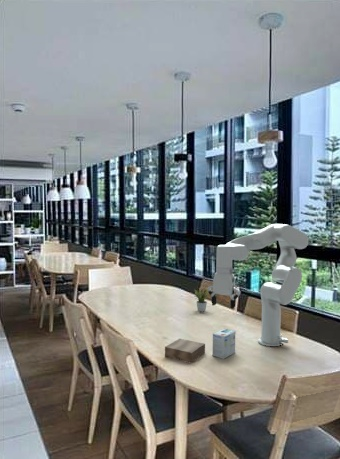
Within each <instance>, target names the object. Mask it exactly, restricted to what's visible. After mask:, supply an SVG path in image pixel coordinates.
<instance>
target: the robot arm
mask: <svg viewBox="0 0 340 459" xmlns="http://www.w3.org/2000/svg"><path fill="white" fill-rule="evenodd" d="M277 241H278V245H279V248H280V255H279V257H278V259H277V262H276V263H275V266H274V268H273V270H272V272H271V278H272V279H273V281H268V282H264V283H263V284H262V285H261V287H260V289H259V290H260V298H261V330H260V331H261V332H260V333H261V334H260V335H261V336H260V337H259V338H258V339H257V342H258V344H260V345H262V346H265V345H266V346H265V347H270V346H278V347H280V346H279V345H281V346H283V345H284V344H289V338H287V337H283V336H282V335H283V334H282V333H281V323H282V322H281V320H282V316H281V315H282V310H281V309H282V308H281V305H282V306H283V305H284V306H285V305H289V304H290V303H291V302H292V301H293V299H294V297H295V295H296V294H297V291H298V289H299V287H300V285H301V283H302V280H303V274H302V273H303V272H302V270H301V269H299V267H297V266H295V264H296V263H297V254H296V251H295V250H296V249H297V250H303V249H306V248H307V246H308V245H309V237H308V235H307V234H306V233H305V232H303V231H301V230H299V229H297V228H295V227H294V226H292V225H289V224H285V223H284V224H283V223H272V224H270V225H267V226H266V227H264V228H261V229H260V230H257V231H256V232H254V233H253V232H252V233H249V234H246V235H243V236H239V237H237V238H235V239H232V240H231V241H229V242H227V243H226V244H219V245H217V247H216V263H215V264H216V265H215V266H216V267H215V273H214V275H213V281H212V284H211V285H209V286H207V287H206V289H207V291H208V294H209V295H210V298H211V305H212V306H215V305H217V296H216V295H221V296H222V295H223V296H228V297H230V299H231V300H230V309H234V308H235V307H236V300H237V299H238V298H239V297H240V295H241V293H242V291H241V290H240V289H238V288H237V287H236V280H235V275H234V273H235V269H234V268H233V260H235V261H244V260H246V259H247V258H248V257H249V254H250V250H251V251H252V250H261V249H264V248H265V247H267V246H269V245H271V244H273V243H275V242H277ZM274 281H275V282H274ZM282 344H283V345H282Z"/></svg>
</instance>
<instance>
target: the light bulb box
mask: <svg viewBox="0 0 340 459" xmlns="http://www.w3.org/2000/svg"><path fill="white" fill-rule="evenodd" d="M235 353H236V330H232V329H228V328H223V329H221V330H218V331H216V332H214V333H212V356H213V357H217V358H220V359H226V358H228V357H229V356H231V355H234V354H235Z"/></svg>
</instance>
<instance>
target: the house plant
mask: <svg viewBox="0 0 340 459" xmlns="http://www.w3.org/2000/svg"><path fill="white" fill-rule="evenodd" d="M198 289H199V291H200V293H199V291H198V290H196V289H195V288H194V289H193V290H194V294H195V295H194V297H195V298H196V299H197V301H196V308H197V312H199V311H205V312H206V310H207V305H208V301H206V300H209V296H208V294H209V291H208V289H207V288H205V289H204V291H203V288H201V287H200V288H198Z"/></svg>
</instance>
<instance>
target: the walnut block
mask: <svg viewBox="0 0 340 459" xmlns="http://www.w3.org/2000/svg"><path fill="white" fill-rule="evenodd" d="M205 354H206V343H204V342H199V341H194V340H193V341H192V340H188V339H183V338H178V339H176V340H175V341H173V342H171V343H169V344H168V345H166V346H164V357H165V358H169V359H173V360H177V361H182V362H185V361H186V362H185V363H189V362H190V364H191V363H194V362H195V361H196V360H198V359H199V358H201V357H202V356H203V355H205Z"/></svg>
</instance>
